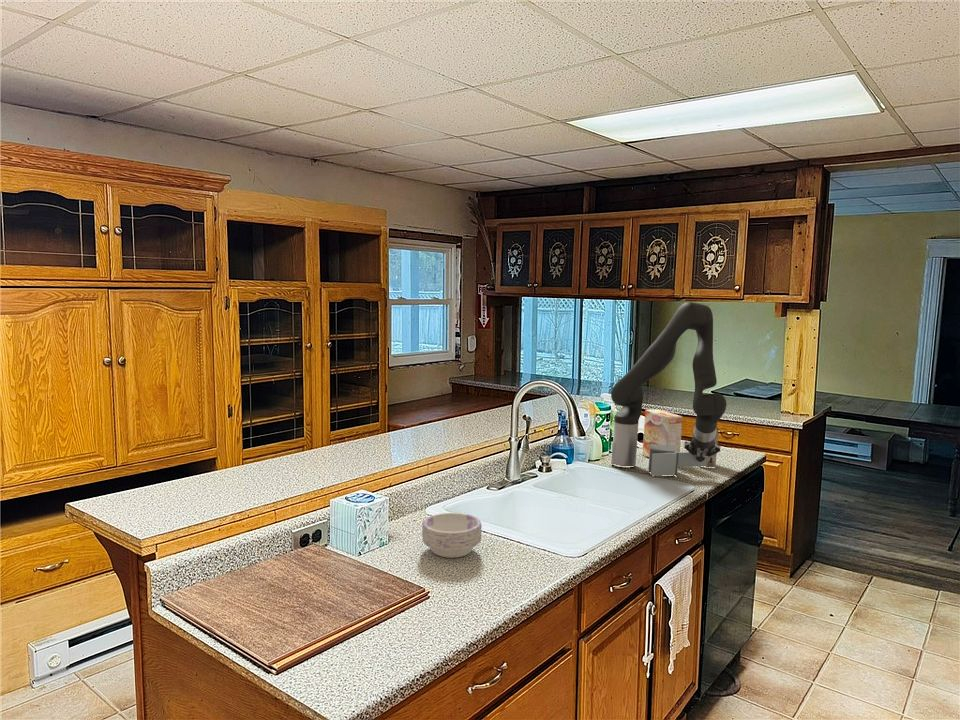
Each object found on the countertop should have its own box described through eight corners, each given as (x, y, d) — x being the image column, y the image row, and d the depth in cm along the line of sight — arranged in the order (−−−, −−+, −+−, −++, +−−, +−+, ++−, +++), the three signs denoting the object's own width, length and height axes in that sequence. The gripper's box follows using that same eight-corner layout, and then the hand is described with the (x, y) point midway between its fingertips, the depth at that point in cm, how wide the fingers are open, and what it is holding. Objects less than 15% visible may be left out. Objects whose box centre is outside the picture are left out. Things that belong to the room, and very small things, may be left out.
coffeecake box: (641, 455, 277) (644, 409, 275) (655, 454, 280) (658, 408, 278) (665, 465, 264) (669, 416, 261) (679, 463, 267) (683, 415, 264)
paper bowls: (414, 543, 177) (415, 514, 176) (469, 537, 182) (469, 509, 181) (431, 566, 163) (432, 535, 162) (489, 559, 168) (490, 529, 167)
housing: (648, 474, 250) (649, 449, 249) (648, 467, 259) (650, 443, 258) (673, 476, 248) (675, 451, 247) (672, 470, 257) (674, 446, 256)
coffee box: (693, 461, 270) (695, 423, 268) (708, 462, 270) (711, 423, 268) (699, 468, 261) (703, 428, 259) (716, 468, 261) (719, 428, 259)
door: (651, 477, 245) (653, 452, 244) (650, 476, 246) (652, 452, 245) (703, 476, 248) (705, 452, 247) (702, 476, 249) (704, 451, 248)
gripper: (724, 425, 234) (718, 452, 247) (685, 422, 238) (681, 449, 250) (724, 443, 230) (719, 470, 242) (684, 440, 233) (681, 466, 246)
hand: (699, 459), depth 246 cm, fingers closed
